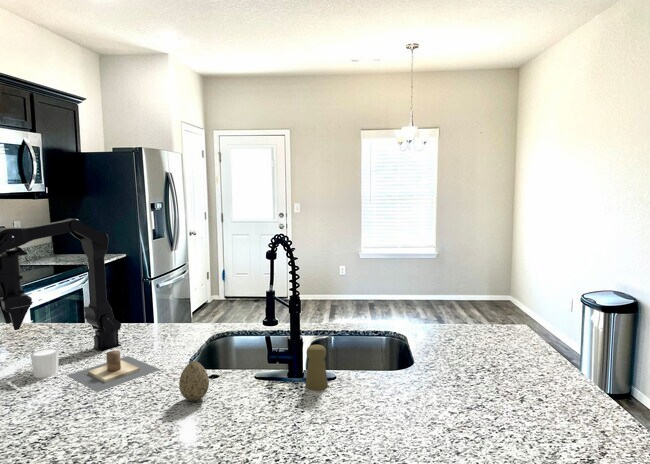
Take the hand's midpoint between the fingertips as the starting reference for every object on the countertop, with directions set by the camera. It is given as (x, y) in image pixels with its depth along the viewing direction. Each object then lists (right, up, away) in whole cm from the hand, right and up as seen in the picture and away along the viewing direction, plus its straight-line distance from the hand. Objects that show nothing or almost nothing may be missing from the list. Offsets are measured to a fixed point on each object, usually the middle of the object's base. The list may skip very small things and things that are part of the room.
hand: (12, 326), depth 124 cm
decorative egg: (+56, -15, -15) cm, 60 cm away
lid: (+28, -13, +1) cm, 31 cm away
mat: (+28, -14, +1) cm, 32 cm away
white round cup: (+9, -14, +1) cm, 17 cm away
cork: (+87, -14, -8) cm, 88 cm away
